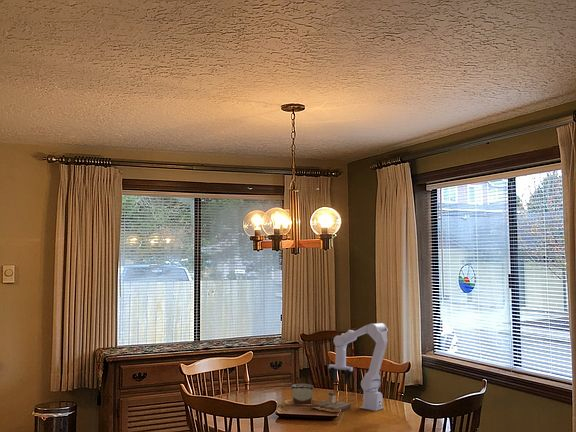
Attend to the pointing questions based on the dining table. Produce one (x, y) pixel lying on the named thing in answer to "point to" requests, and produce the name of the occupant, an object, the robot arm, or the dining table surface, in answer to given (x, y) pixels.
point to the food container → (302, 393)
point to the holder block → (335, 407)
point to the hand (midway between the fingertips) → (340, 383)
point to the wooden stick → (331, 398)
